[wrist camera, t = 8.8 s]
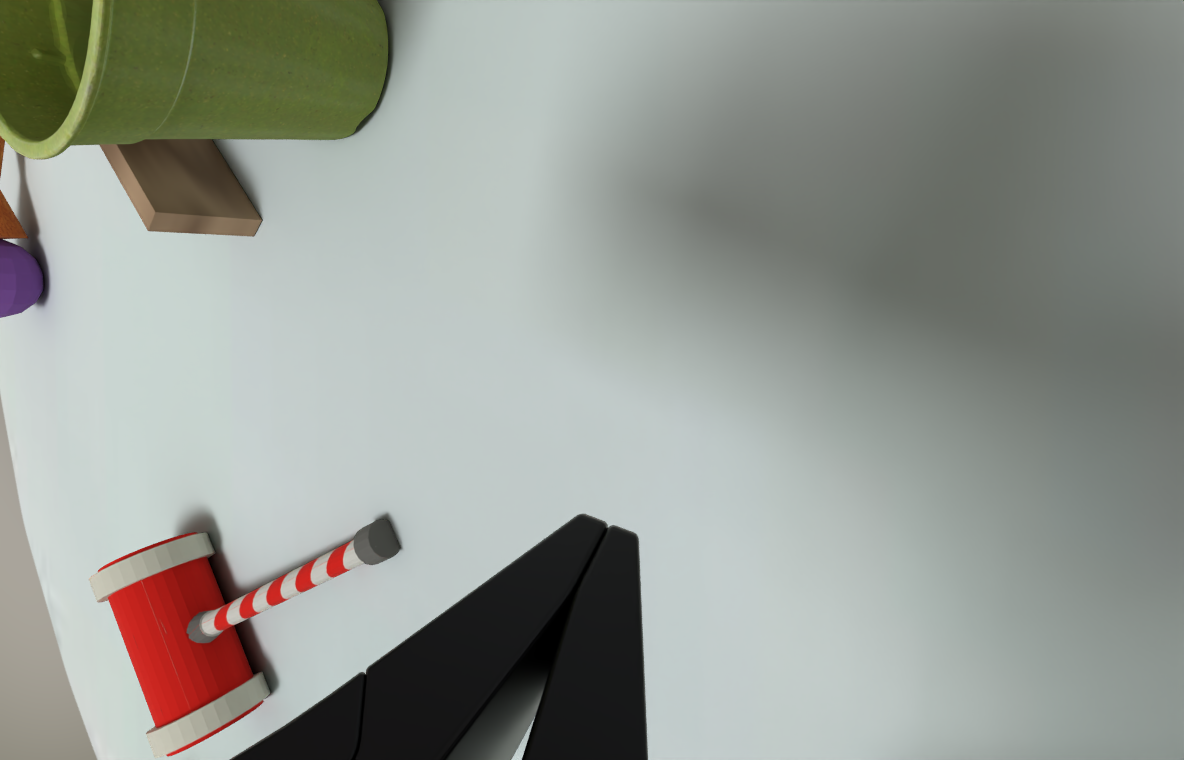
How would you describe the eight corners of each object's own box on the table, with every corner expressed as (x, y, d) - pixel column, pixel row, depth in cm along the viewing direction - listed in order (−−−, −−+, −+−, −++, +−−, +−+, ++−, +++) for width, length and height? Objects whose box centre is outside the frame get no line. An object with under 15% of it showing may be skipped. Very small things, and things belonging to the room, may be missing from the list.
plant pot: (242, -26, 30) (-95, -165, 20) (408, -149, 24) (33, -434, 14) (283, 218, 31) (-16, 194, 22) (452, 162, 25) (134, 93, 15)
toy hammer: (357, 426, 31) (231, 458, 26) (450, 642, 30) (338, 723, 25) (184, 545, 43) (73, 584, 38) (245, 703, 42) (140, 766, 37)
